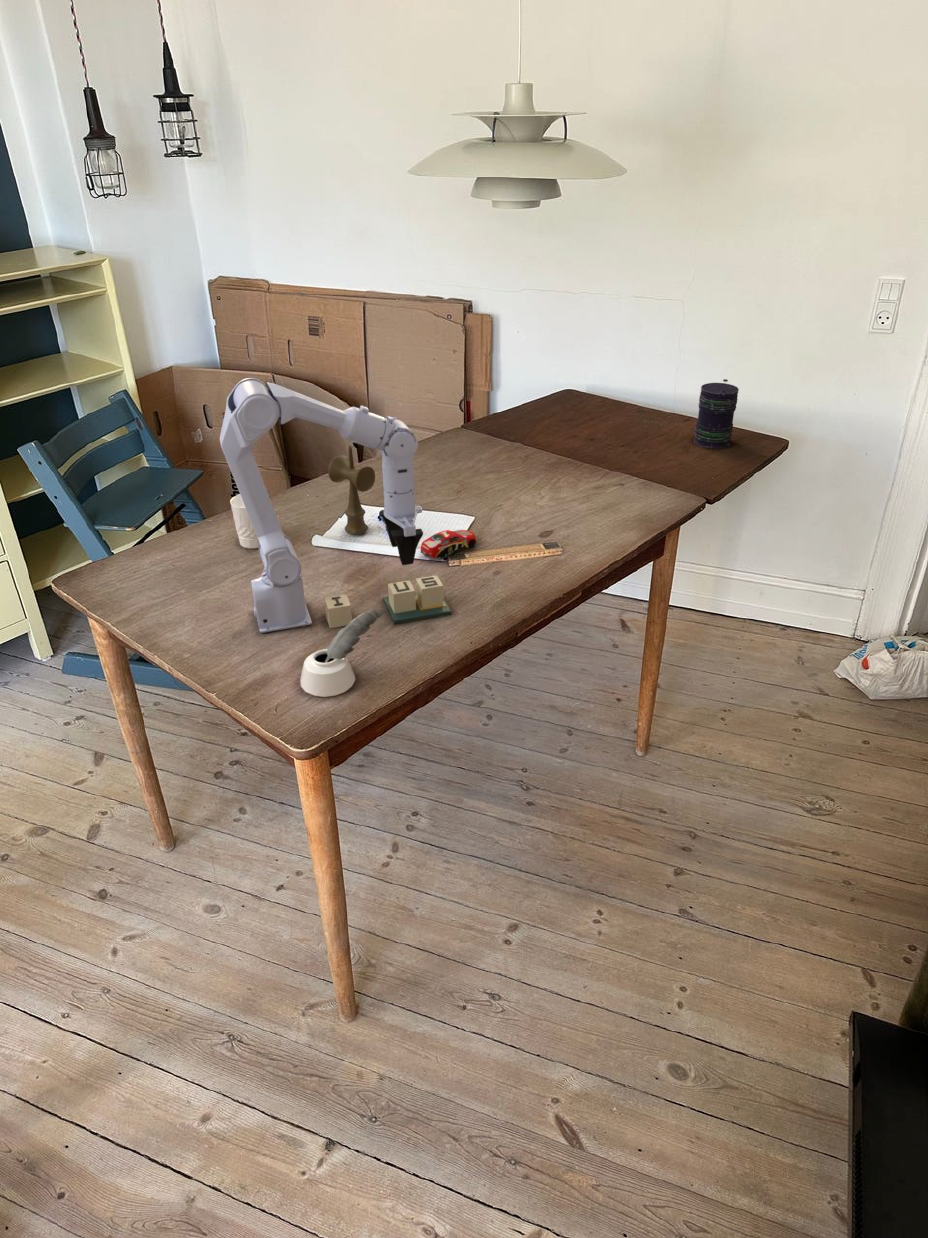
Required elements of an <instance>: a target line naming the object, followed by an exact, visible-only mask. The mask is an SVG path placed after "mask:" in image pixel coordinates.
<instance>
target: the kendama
mask: <svg viewBox="0 0 928 1238" xmlns="http://www.w3.org/2000/svg"><path fill="white" fill-rule="evenodd" d="M347 451H348V452H347V453H348V457H347V456H346V455H342V454H340V455H337V456H335V457H333V458H332V459H331V461H330V462H329V464H328V467H327V474H328V477H329V479H330V481H331V482H333V483H342V482H343V481H346V480H347V481H349V489H348V490H349V494H348V504H347V508H346V509H345V510H344V515H345V516H346V519H347V522H346V525H345V527H344V531H345V532H346V533H348V534H349V535H355V536H356V535H362V534H364V533H366V532H367V531H368V530H369V527H368V525H367V523H366V522H365V514H366V510H365V509H364V508H363V507H362V504H361V501H360V496H359V493H358V492H360V493H361V492H362V493H364V492H368V491H369V490H371V489H372V488H373V486H374V484H375V481H376V473H375V470H374V468H373V467H372V466H369V465H364V466H360V467H359V468H357V467H355V463H354V454H353V447H352V446H351V445H348V450H347Z"/></svg>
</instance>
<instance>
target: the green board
mask: <svg viewBox="0 0 928 1238" xmlns="http://www.w3.org/2000/svg"><path fill="white" fill-rule="evenodd" d="M415 598H416V610H413V611H407V612H401V613H395V614H394V612H393V610H392V608H391V606H390V604H389V596H383V597H382V601H383V603H384V605H385V608H386V610H388V614H389V616H390V617H391V619H392V622H393V624H394V625H398V624H403V623H405V624H406V623H411V622H416V621H422V620H427V619H428V620H429V619H433V618H439V617H444V616H451V615H452V610H451V608H450V606H449V605H448V603H447V602H446V600H445V598H444V597H443V601H444V605H439V606H433V607H427V608H422V607H421V605H420V603H419V601H418V599H417V597H416V591H415Z"/></svg>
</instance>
